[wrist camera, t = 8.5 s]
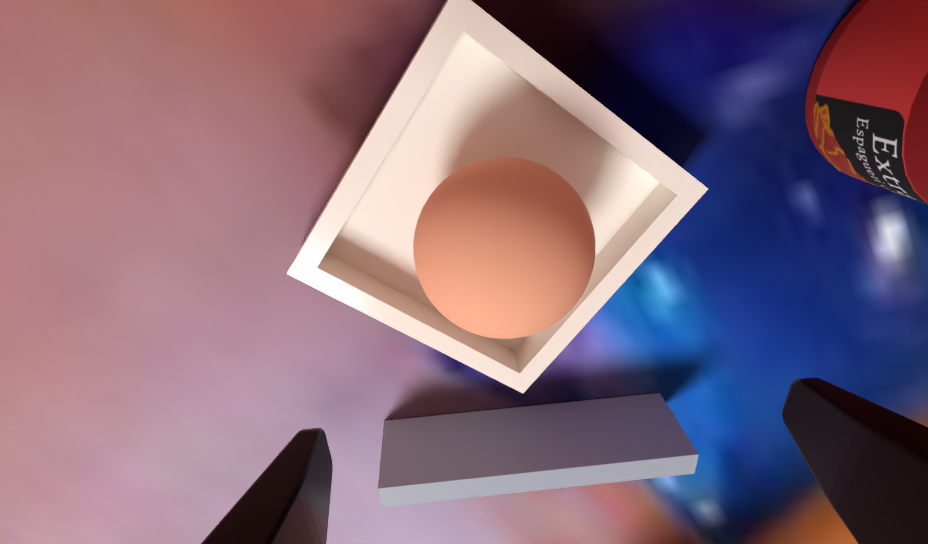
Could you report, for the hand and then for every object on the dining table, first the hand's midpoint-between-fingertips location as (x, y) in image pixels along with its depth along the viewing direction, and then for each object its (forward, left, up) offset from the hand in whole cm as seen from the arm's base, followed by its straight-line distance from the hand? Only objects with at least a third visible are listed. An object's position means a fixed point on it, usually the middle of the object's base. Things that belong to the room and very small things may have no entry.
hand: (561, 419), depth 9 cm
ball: (0, 0, -11) cm, 11 cm away
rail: (-8, +8, -12) cm, 16 cm away
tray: (0, 0, -12) cm, 12 cm away
